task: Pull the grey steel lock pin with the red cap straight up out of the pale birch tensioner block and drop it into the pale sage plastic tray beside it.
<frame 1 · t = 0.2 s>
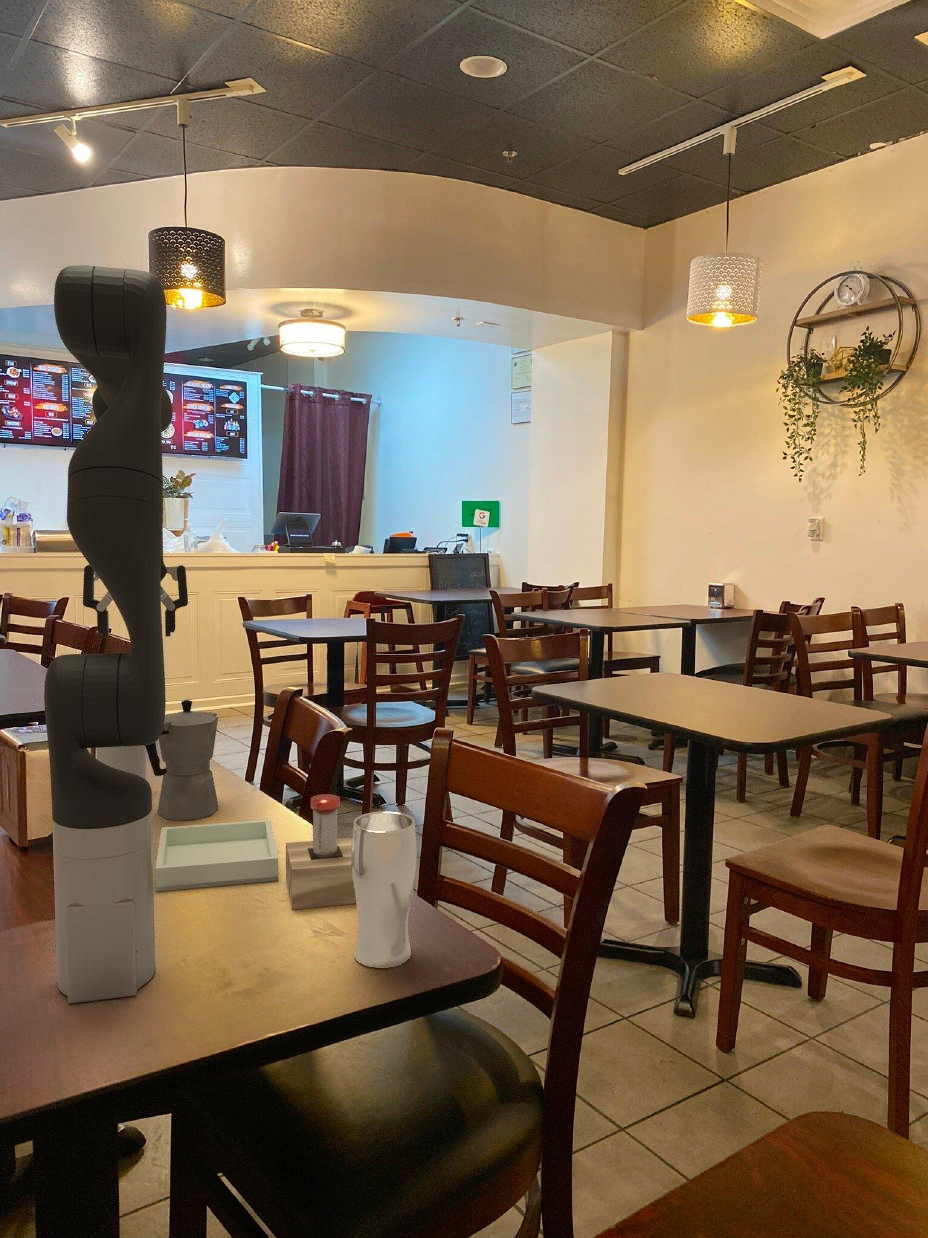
hand: (137, 636, 129), 29 cm above the table, fingers open, 8 cm apart
coffeepot: (183, 814, 139), on the table
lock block: (325, 890, 112), on the table
tray: (217, 863, 120), on the table
beer glass: (382, 957, 96), on the table
lock pin: (325, 891, 112), resting in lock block
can: (122, 797, 147), on the table
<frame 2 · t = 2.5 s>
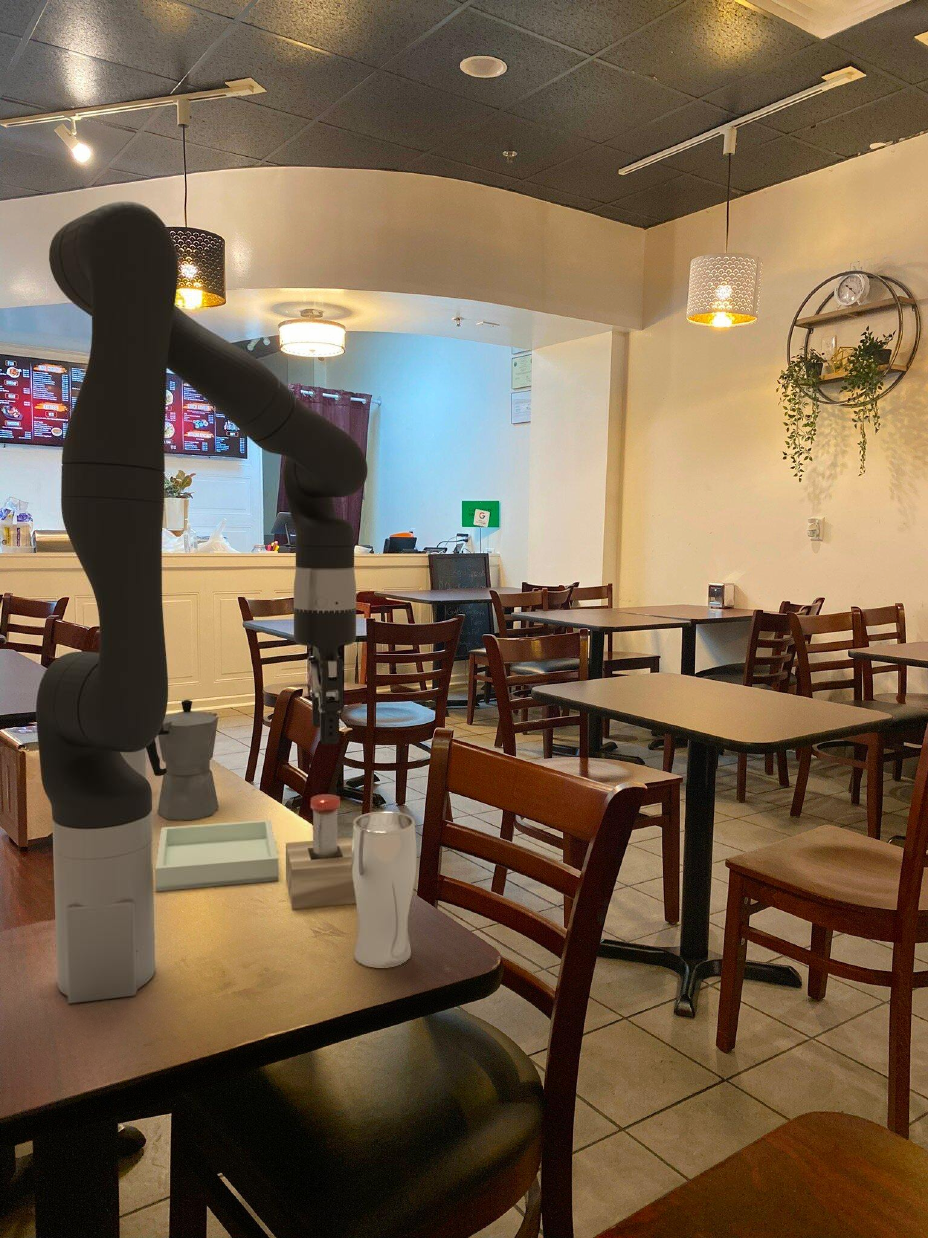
hand: (325, 734, 110), 20 cm above the table, fingers open, 8 cm apart
nothing on the table moved.
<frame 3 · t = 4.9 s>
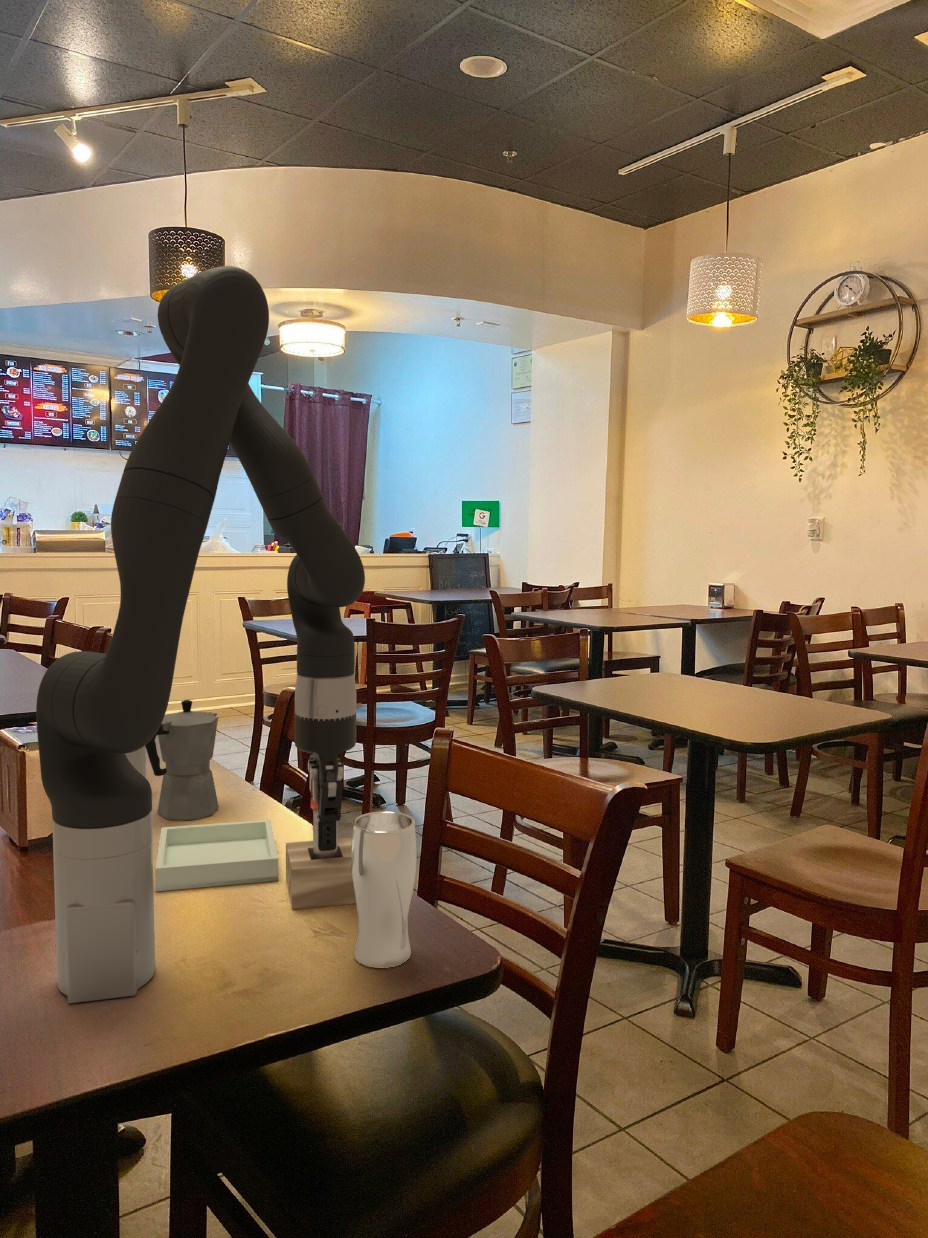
hand: (325, 844, 111), 6 cm above the table, fingers closed on lock pin, 3 cm apart
lock pin: (325, 891, 112), resting in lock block, touching gripper
everything else where it was.
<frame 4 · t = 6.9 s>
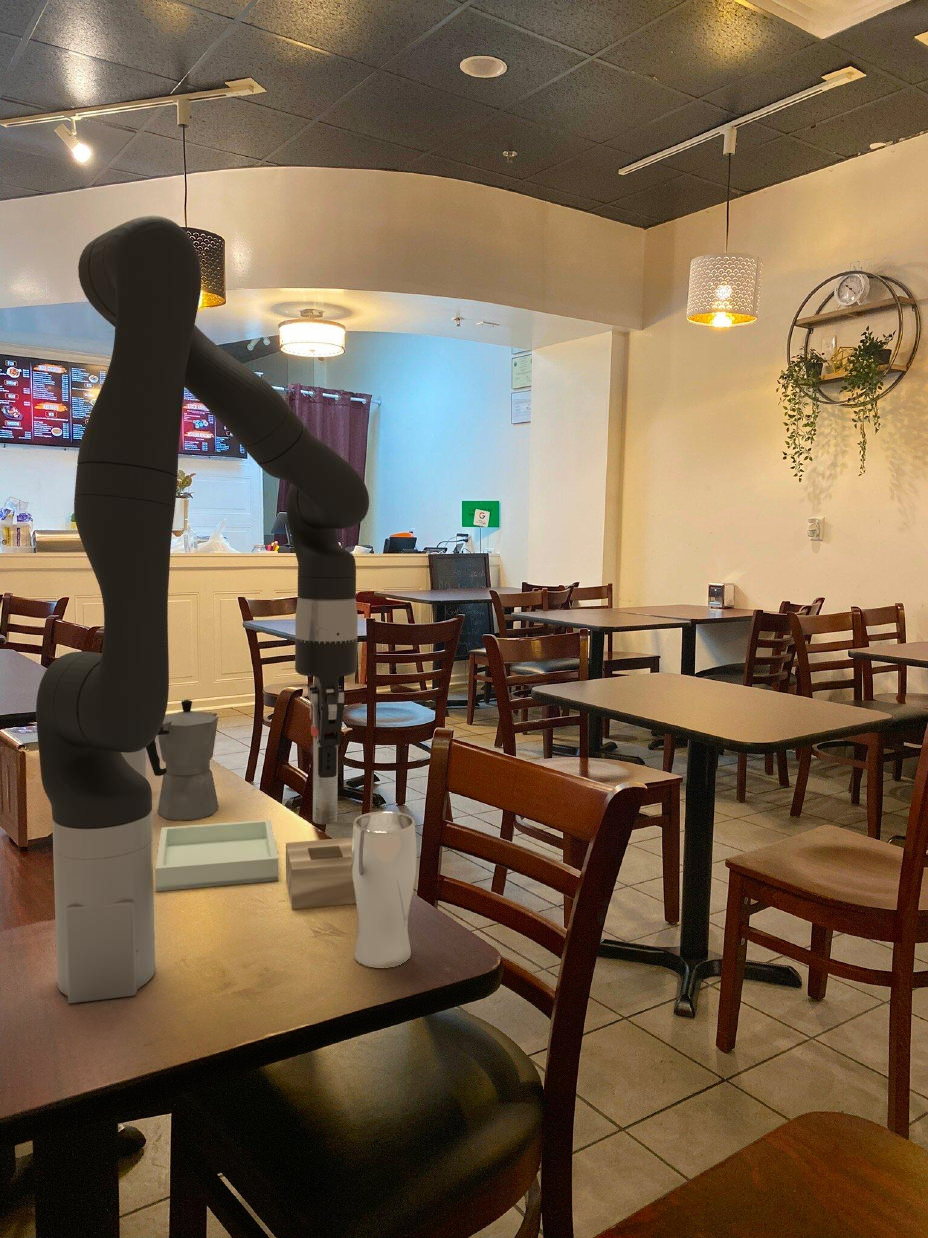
hand: (325, 772, 110), 15 cm above the table, fingers closed on lock pin, 3 cm apart
lock pin: (325, 820, 111), point 9 cm above the table, touching gripper
everything else where it was.
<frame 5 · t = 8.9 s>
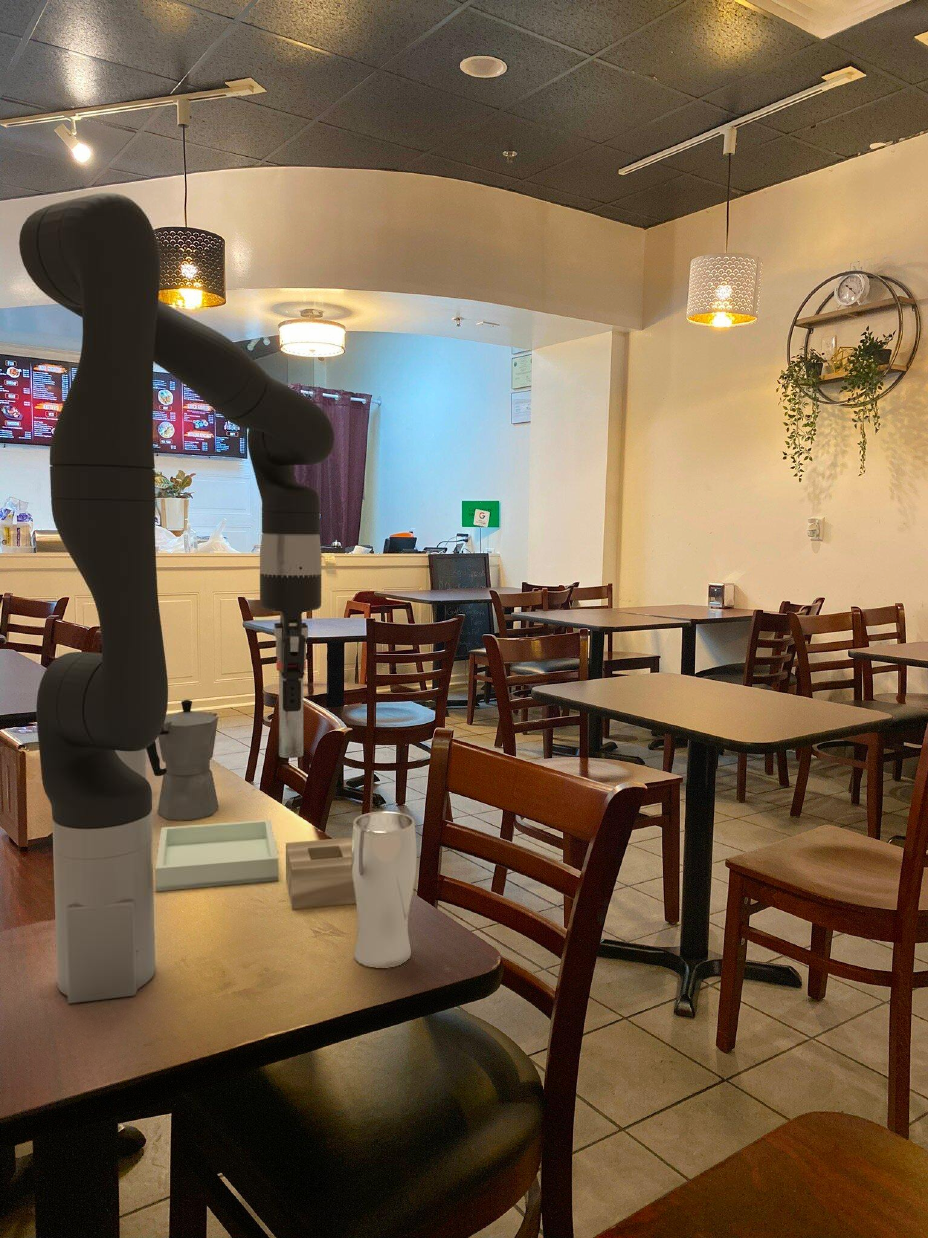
hand: (290, 707, 112), 23 cm above the table, fingers closed on lock pin, 3 cm apart
lock pin: (291, 754, 112), point 17 cm above the table, touching gripper
everything else where it was.
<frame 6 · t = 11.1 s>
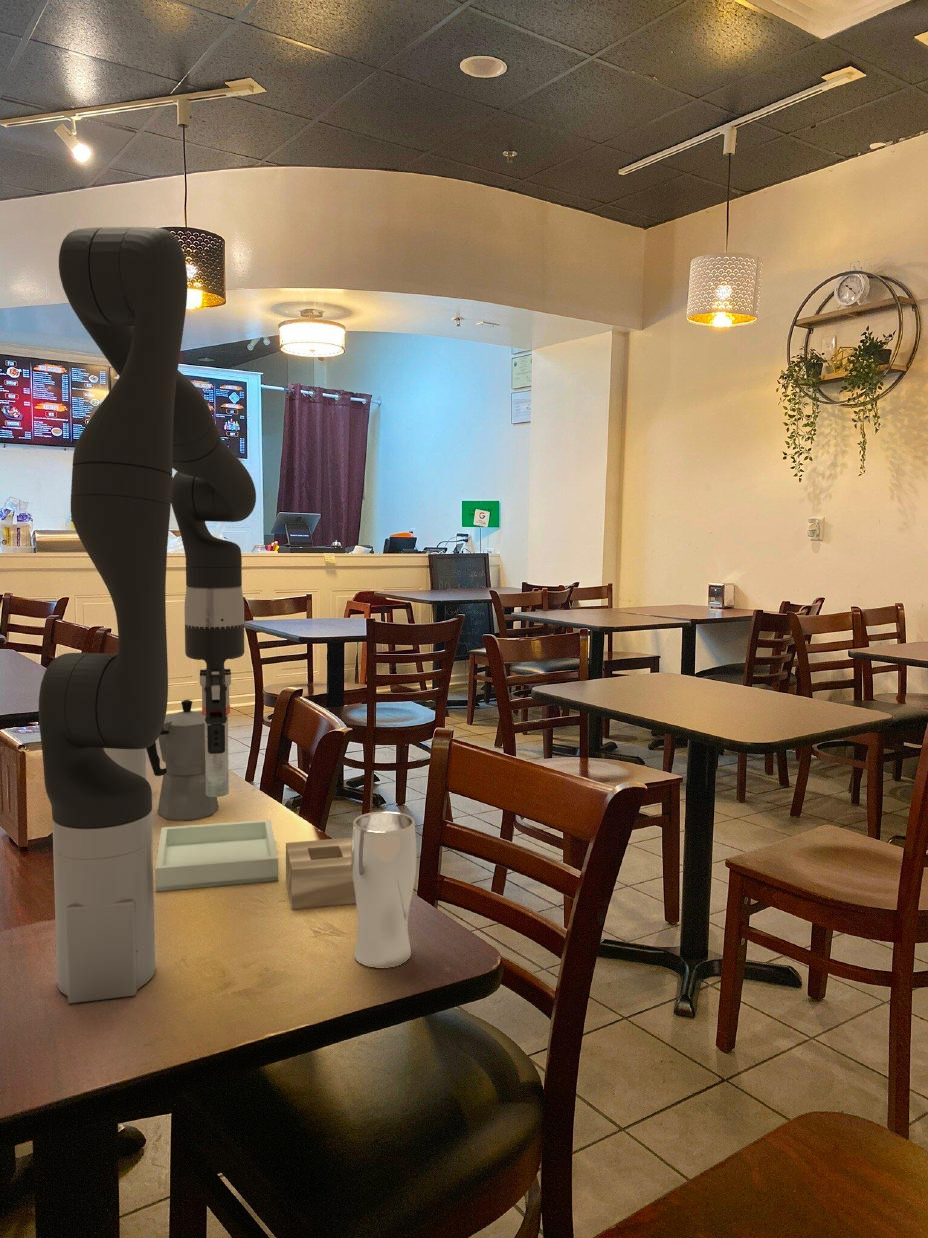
hand: (216, 748, 118), 16 cm above the table, fingers closed on lock pin, 3 cm apart
lock pin: (217, 793, 119), point 10 cm above the table, touching gripper
everything else where it was.
when the fingers open (9 cm above the table, at t = 13.1 s): lock pin drops 2 cm, resting on tray.
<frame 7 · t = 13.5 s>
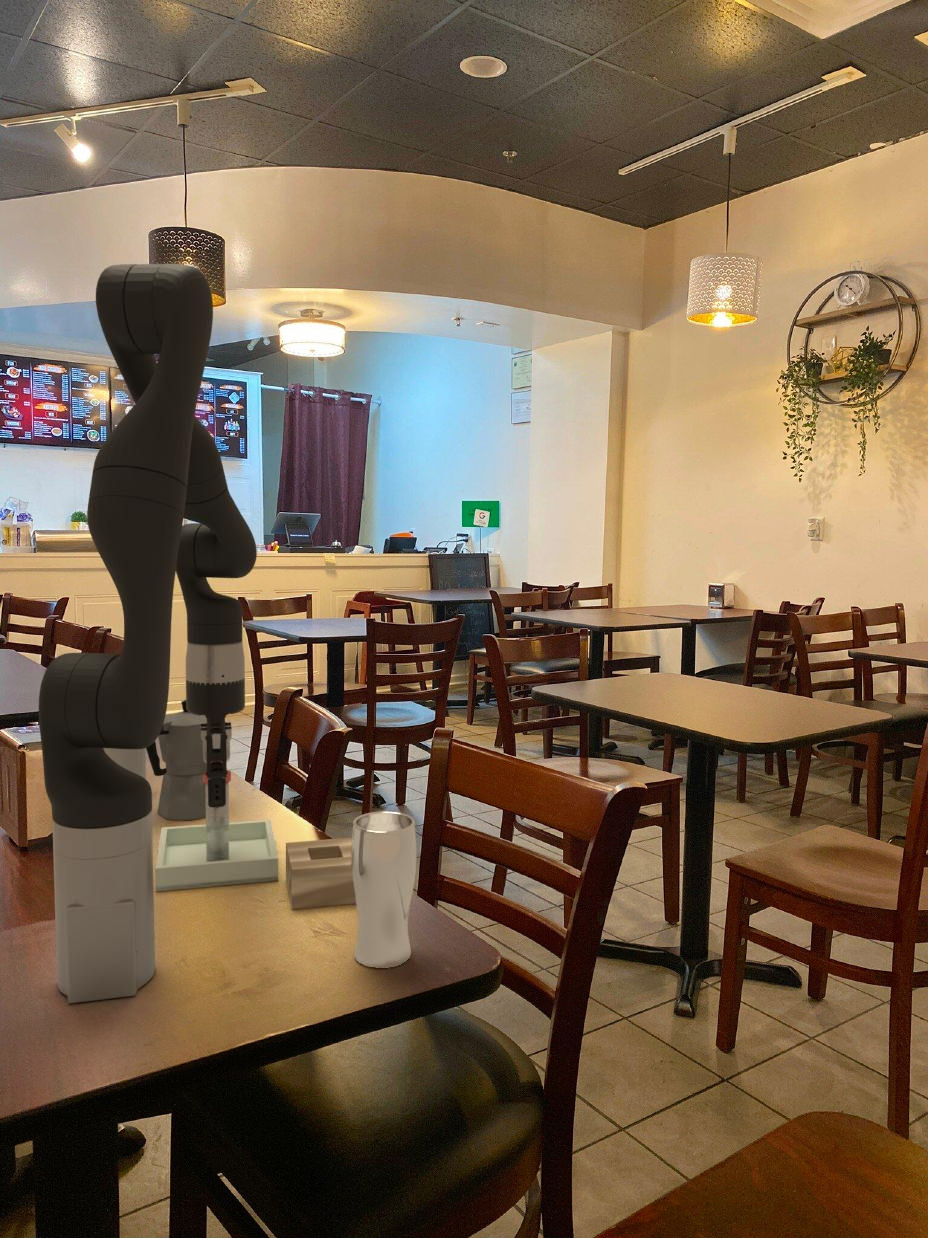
hand: (216, 797, 119), 9 cm above the table, fingers open, 6 cm apart
lock pin: (217, 859, 120), point 1 cm above the table, touching tray
everything else where it was.
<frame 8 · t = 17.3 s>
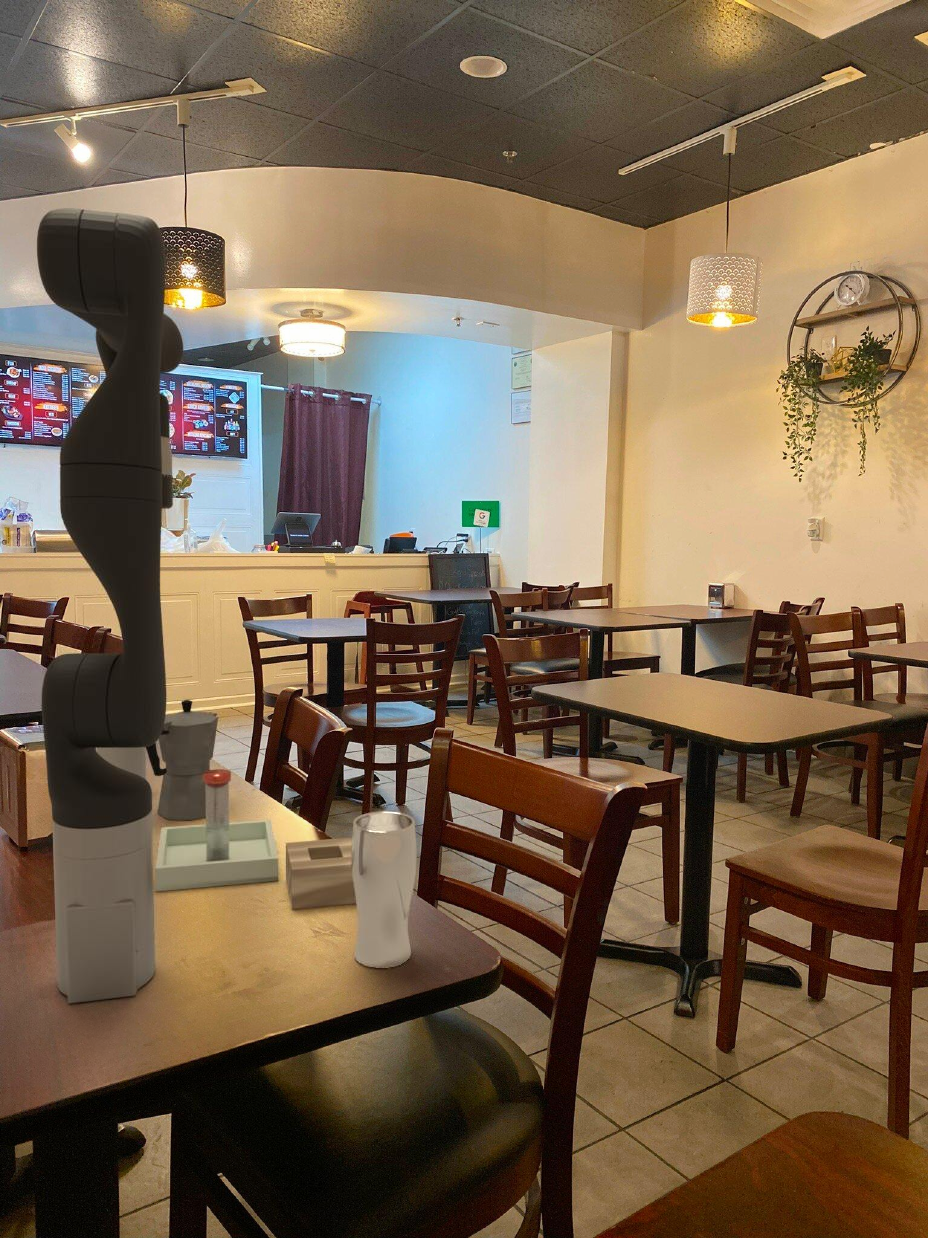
hand: (144, 594, 119), 36 cm above the table, fingers open, 8 cm apart
nothing on the table moved.
at the end: lock pin inside the target area on the tray (0.0 cm from its centre), point 0.6 cm above the tray's base; the gripper is holding nothing; lock pin moved 17.6 cm from its start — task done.
